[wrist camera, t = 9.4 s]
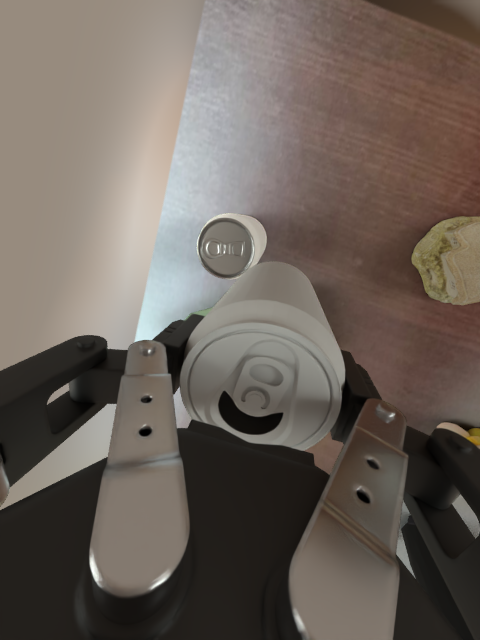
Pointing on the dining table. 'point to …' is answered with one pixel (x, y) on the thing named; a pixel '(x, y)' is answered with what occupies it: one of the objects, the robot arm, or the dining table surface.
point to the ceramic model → (451, 260)
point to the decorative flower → (464, 432)
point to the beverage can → (265, 361)
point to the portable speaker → (432, 578)
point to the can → (231, 245)
